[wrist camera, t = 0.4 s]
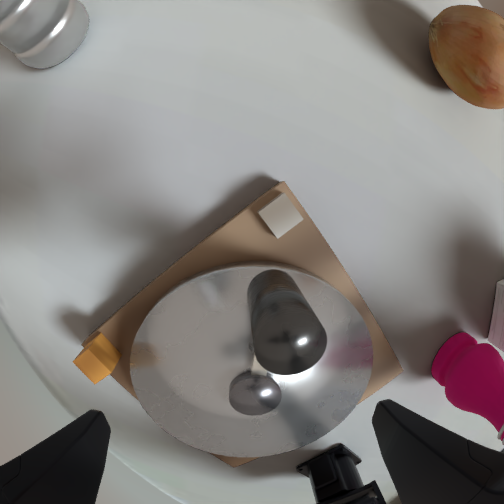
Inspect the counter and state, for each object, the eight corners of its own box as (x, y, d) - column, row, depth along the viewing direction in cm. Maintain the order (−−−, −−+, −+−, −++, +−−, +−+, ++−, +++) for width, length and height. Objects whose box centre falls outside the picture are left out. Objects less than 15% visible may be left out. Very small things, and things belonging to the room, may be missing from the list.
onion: (482, 130, 18) (557, 124, 9) (410, 91, 17) (493, 58, 8) (474, 54, 16) (534, 32, 7) (404, 12, 15) (461, -34, 6)
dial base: (396, 362, 23) (416, 385, 19) (233, 457, 25) (234, 485, 21) (280, 181, 19) (292, 180, 15) (88, 336, 20) (68, 360, 16)
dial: (328, 441, 23) (349, 499, 15) (145, 431, 21) (127, 493, 13) (390, 275, 19) (457, 318, 11) (135, 244, 17) (75, 283, 10)
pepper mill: (417, 383, 24) (513, 507, 5) (446, 325, 23) (577, 437, 3) (454, 380, 25) (542, 477, 5) (480, 329, 23) (589, 414, 4)
